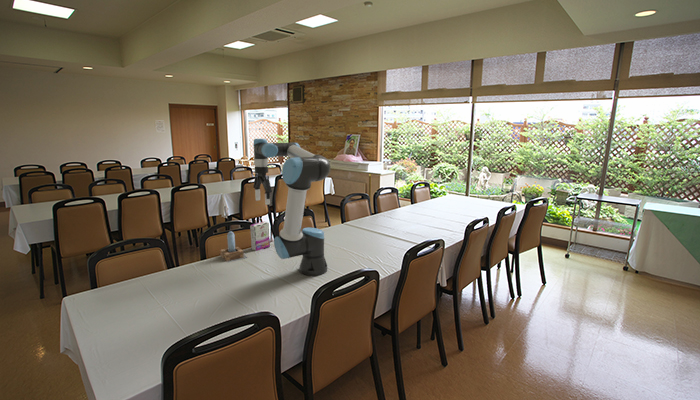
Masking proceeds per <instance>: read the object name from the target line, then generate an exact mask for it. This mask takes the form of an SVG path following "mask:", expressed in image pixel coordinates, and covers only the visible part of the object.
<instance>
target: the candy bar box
mask: <svg viewBox="0 0 700 400" xmlns="http://www.w3.org/2000/svg"><path fill="white" fill-rule="evenodd" d="M249 227H250V240H251V241H250V242H251V250H253V251H256V252H257V251H261V250H264V249H268V248H269V247H270V246H271V242H270V225H269V222H268V221H261V222H256V223H254V224H251V225H250V226H249Z"/></svg>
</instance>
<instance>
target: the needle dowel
mask: <svg viewBox="0 0 700 400" xmlns="http://www.w3.org/2000/svg"><path fill="white" fill-rule="evenodd" d="M226 237H227V248H228V253H230V252H235V247H236V239H235V238H236V237H235V233H234V232H233V231H231V230H230V231H228V233H226Z"/></svg>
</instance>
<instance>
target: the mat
mask: <svg viewBox="0 0 700 400" xmlns="http://www.w3.org/2000/svg"><path fill="white" fill-rule="evenodd" d="M243 255H244V258H239V259H234V260H230V261H226V262H227V263H231V262H235V261H241V260H245V259H248V258H249V257H248V256H247V255H245V254H244V253H243ZM219 256H220V257H221V254H220V255H219Z"/></svg>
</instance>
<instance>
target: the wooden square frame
mask: <svg viewBox="0 0 700 400" xmlns="http://www.w3.org/2000/svg"><path fill="white" fill-rule="evenodd" d="M243 254H244V250H243V249H241V248H240V247H239V246H235V252H230V253H228V247H227V248H222V249H220V255H221V256H220V257H221V258H222V259H223V260H225V261H226V262H227V261H230V260H234V259H239V258H244V255H245V254H244V255H243Z"/></svg>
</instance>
